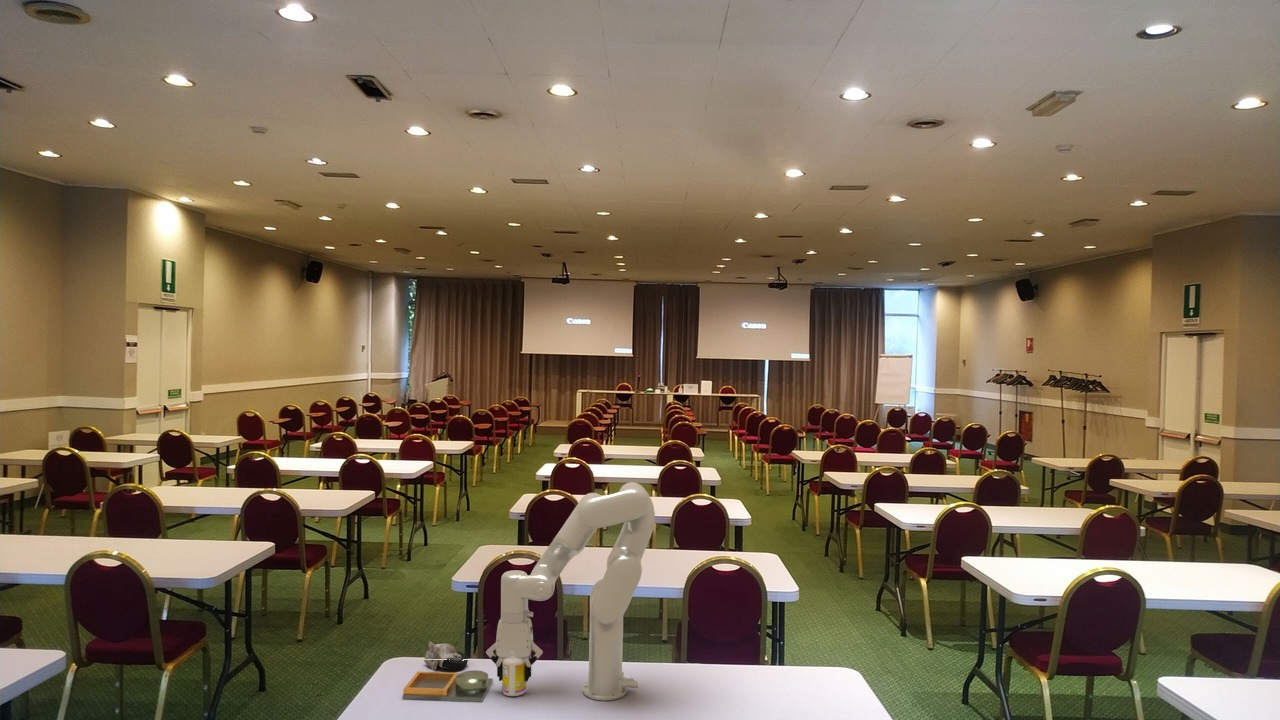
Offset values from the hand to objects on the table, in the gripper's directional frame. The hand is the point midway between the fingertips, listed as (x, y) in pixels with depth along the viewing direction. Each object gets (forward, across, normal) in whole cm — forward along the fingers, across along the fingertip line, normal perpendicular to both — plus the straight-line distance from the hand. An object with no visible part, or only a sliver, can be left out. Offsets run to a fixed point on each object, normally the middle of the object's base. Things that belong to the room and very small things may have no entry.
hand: (514, 678), depth 217 cm
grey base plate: (+4, +19, 0) cm, 19 cm away
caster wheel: (+4, +24, -17) cm, 29 cm away
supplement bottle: (+4, 0, 0) cm, 4 cm away
